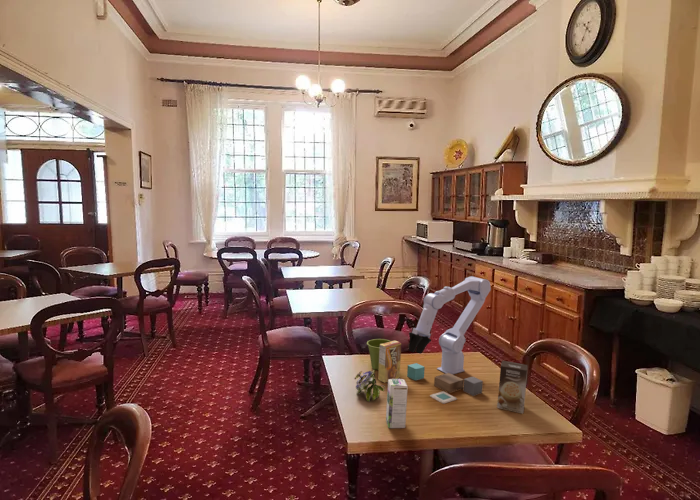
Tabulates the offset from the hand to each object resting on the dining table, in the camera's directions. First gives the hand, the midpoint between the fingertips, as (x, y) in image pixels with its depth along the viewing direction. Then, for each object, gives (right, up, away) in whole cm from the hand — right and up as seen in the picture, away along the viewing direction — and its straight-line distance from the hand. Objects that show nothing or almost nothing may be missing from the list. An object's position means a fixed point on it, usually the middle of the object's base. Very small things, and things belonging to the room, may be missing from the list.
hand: (414, 352), depth 181 cm
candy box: (-11, -11, 0) cm, 16 cm away
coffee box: (+32, -15, -23) cm, 42 cm away
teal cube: (+1, -11, +2) cm, 11 cm away
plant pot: (-14, -10, +12) cm, 21 cm away
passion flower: (-20, -13, -16) cm, 28 cm away
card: (+8, -13, -16) cm, 23 cm away
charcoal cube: (+21, -13, -10) cm, 27 cm away
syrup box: (-12, -15, -37) cm, 42 cm away
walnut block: (+13, -13, -6) cm, 19 cm away
